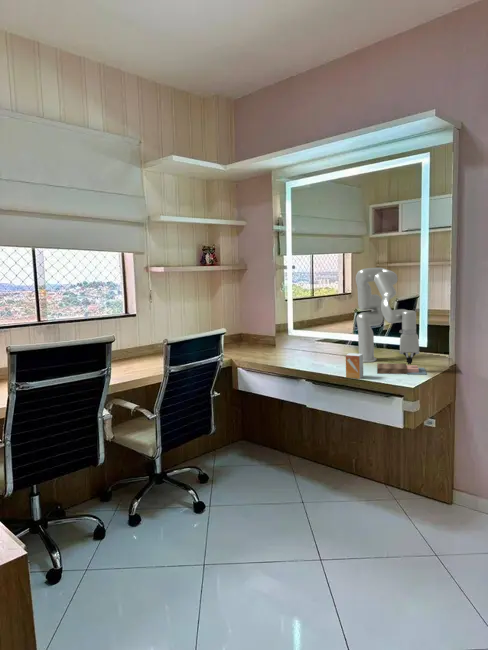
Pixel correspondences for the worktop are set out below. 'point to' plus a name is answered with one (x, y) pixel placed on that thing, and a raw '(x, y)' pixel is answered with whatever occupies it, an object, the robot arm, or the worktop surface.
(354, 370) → the small box
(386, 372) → the platform
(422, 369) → the mat
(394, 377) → the worktop surface
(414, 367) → the tile
